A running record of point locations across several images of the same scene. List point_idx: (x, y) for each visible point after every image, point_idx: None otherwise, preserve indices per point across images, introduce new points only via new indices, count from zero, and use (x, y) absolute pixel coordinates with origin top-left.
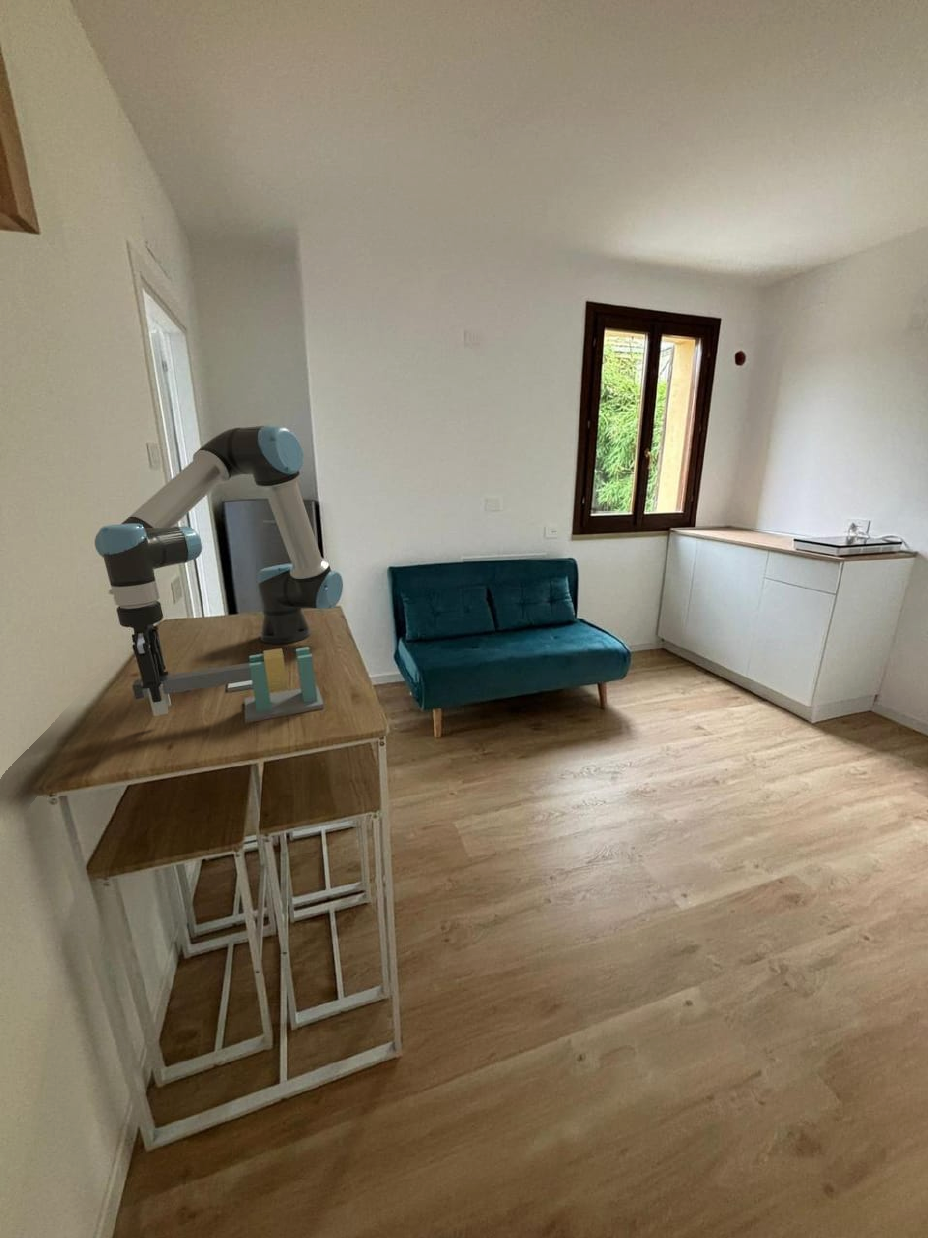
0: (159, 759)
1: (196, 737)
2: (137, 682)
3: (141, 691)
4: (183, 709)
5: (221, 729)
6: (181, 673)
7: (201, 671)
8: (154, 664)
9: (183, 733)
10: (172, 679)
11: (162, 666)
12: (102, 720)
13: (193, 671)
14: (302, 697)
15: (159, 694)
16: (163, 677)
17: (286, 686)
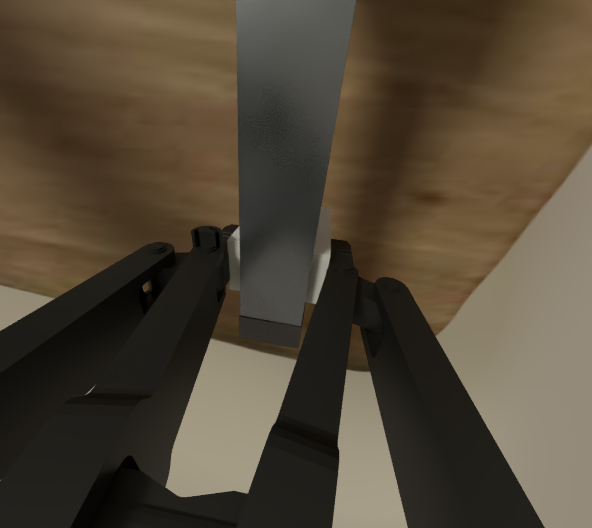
0: (479, 223)
1: (427, 127)
2: (273, 334)
3: (304, 308)
4: (207, 158)
5: (433, 31)
6: (245, 163)
7: (270, 2)
8: (345, 361)
9: (371, 164)
10: (319, 214)
11: (185, 267)
12: None
13: (242, 78)
14: None
15: (343, 253)
16: (262, 251)
17: None
